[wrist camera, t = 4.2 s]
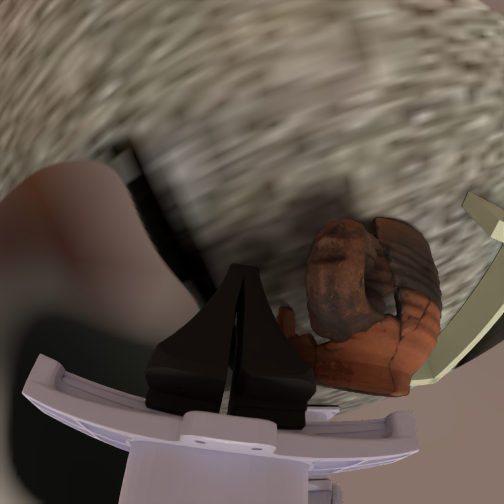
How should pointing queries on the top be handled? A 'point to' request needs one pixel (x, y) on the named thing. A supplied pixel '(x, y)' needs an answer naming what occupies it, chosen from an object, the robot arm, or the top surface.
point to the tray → (470, 302)
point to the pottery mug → (368, 307)
